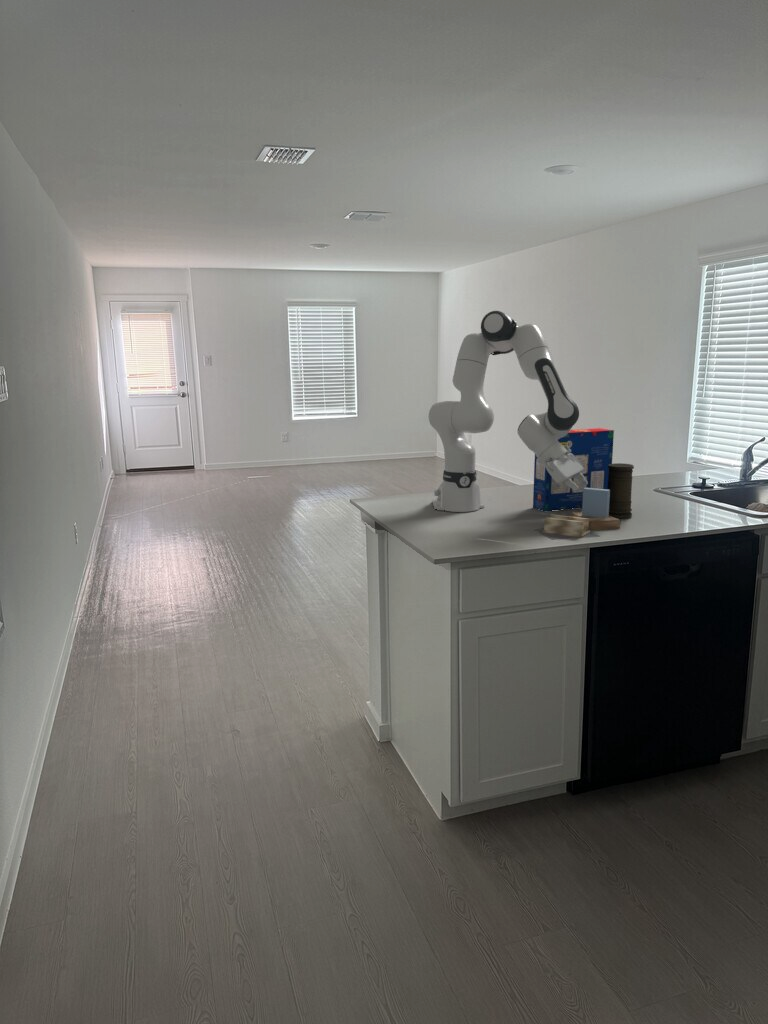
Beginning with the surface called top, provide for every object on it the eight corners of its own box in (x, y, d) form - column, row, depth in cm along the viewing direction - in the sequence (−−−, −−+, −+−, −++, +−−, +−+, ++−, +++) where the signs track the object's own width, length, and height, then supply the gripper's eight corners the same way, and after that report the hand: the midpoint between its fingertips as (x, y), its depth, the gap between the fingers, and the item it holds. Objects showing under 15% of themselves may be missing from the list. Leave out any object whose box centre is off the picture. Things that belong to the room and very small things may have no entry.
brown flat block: (570, 521, 238) (571, 512, 237) (598, 519, 240) (598, 510, 239) (590, 530, 224) (591, 521, 224) (619, 529, 226) (620, 519, 225)
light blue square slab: (581, 515, 232) (583, 488, 230) (584, 514, 234) (585, 487, 232) (606, 518, 228) (607, 490, 226) (608, 516, 230) (610, 489, 228)
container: (636, 516, 244) (639, 464, 240) (624, 520, 238) (627, 467, 234) (611, 512, 250) (614, 462, 247) (599, 516, 244) (602, 465, 240)
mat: (533, 529, 227) (533, 528, 227) (579, 526, 230) (579, 525, 230) (551, 540, 213) (551, 539, 213) (600, 537, 216) (600, 536, 216)
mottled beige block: (542, 532, 222) (542, 517, 221) (550, 527, 228) (550, 513, 227) (582, 537, 215) (583, 522, 214) (590, 532, 221) (590, 518, 220)
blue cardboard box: (595, 501, 269) (599, 428, 263) (609, 505, 262) (613, 430, 256) (532, 507, 260) (535, 431, 254) (545, 512, 252) (548, 434, 246)
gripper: (550, 454, 226) (579, 486, 223) (570, 446, 243) (597, 476, 240) (536, 467, 230) (565, 499, 227) (557, 458, 246) (583, 488, 244)
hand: (581, 487), depth 234 cm, fingers open, 8 cm apart
